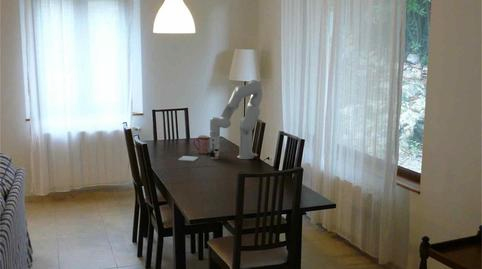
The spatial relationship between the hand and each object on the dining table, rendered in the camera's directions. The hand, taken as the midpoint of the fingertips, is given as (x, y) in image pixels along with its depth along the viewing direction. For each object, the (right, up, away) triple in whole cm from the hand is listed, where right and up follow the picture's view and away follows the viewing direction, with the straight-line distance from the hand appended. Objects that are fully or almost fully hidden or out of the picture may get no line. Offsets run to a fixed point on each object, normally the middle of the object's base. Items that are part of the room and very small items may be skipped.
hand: (214, 155), depth 395 cm
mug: (-11, +1, +17) cm, 20 cm away
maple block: (0, -2, 0) cm, 2 cm away
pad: (-19, -2, -4) cm, 20 cm away
